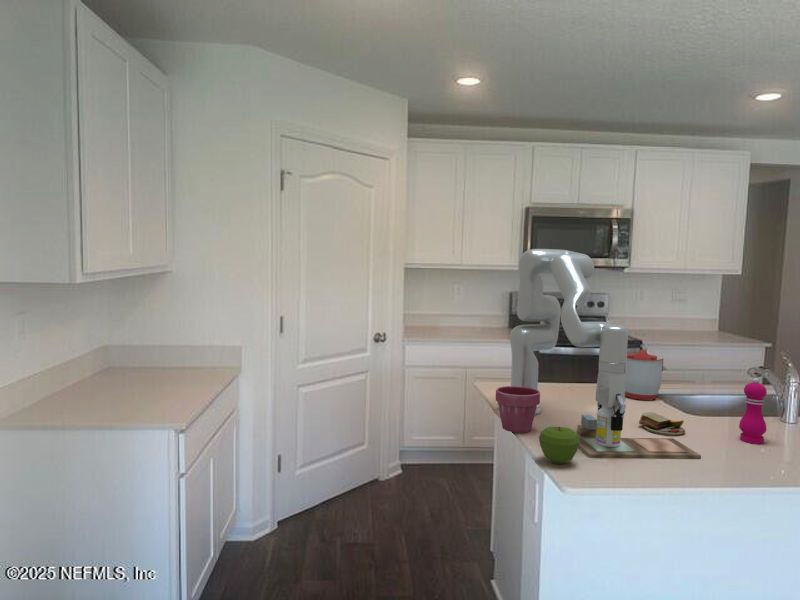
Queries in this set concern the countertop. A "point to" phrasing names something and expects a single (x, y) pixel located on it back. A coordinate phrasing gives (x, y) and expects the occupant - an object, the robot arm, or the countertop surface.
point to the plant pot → (517, 407)
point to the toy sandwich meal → (661, 424)
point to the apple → (558, 444)
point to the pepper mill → (753, 413)
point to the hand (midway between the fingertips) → (609, 425)
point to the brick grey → (589, 422)
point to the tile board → (638, 449)
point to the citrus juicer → (643, 376)
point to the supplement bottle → (606, 429)
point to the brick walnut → (586, 431)
